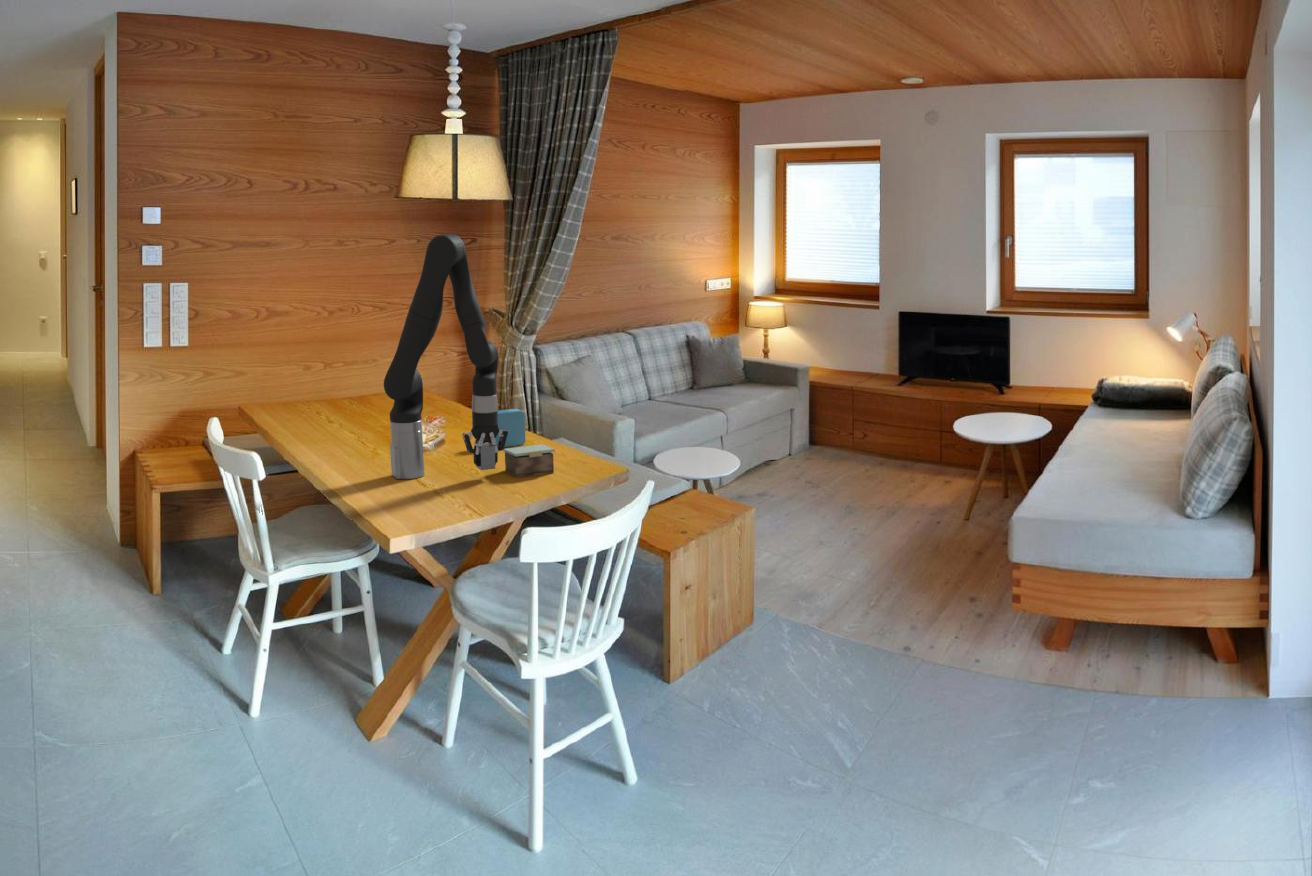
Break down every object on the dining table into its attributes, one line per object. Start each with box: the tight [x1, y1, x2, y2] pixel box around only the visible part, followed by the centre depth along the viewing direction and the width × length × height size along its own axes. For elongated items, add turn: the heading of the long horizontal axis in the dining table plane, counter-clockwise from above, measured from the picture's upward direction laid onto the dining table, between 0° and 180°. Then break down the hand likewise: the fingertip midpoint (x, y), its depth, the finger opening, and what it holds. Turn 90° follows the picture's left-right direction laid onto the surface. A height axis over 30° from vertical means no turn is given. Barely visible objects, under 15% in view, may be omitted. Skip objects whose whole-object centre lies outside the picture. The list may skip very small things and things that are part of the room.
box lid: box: [502, 443, 556, 457], centre depth 321 cm, size 13×11×2 cm
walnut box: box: [504, 452, 555, 479], centre depth 323 cm, size 12×10×6 cm
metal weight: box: [475, 443, 496, 471], centre depth 314 cm, size 4×4×7 cm
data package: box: [495, 408, 527, 448], centre depth 357 cm, size 12×4×12 cm, turn 117°
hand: (485, 464), depth 314 cm, fingers closed on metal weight, 4 cm apart
